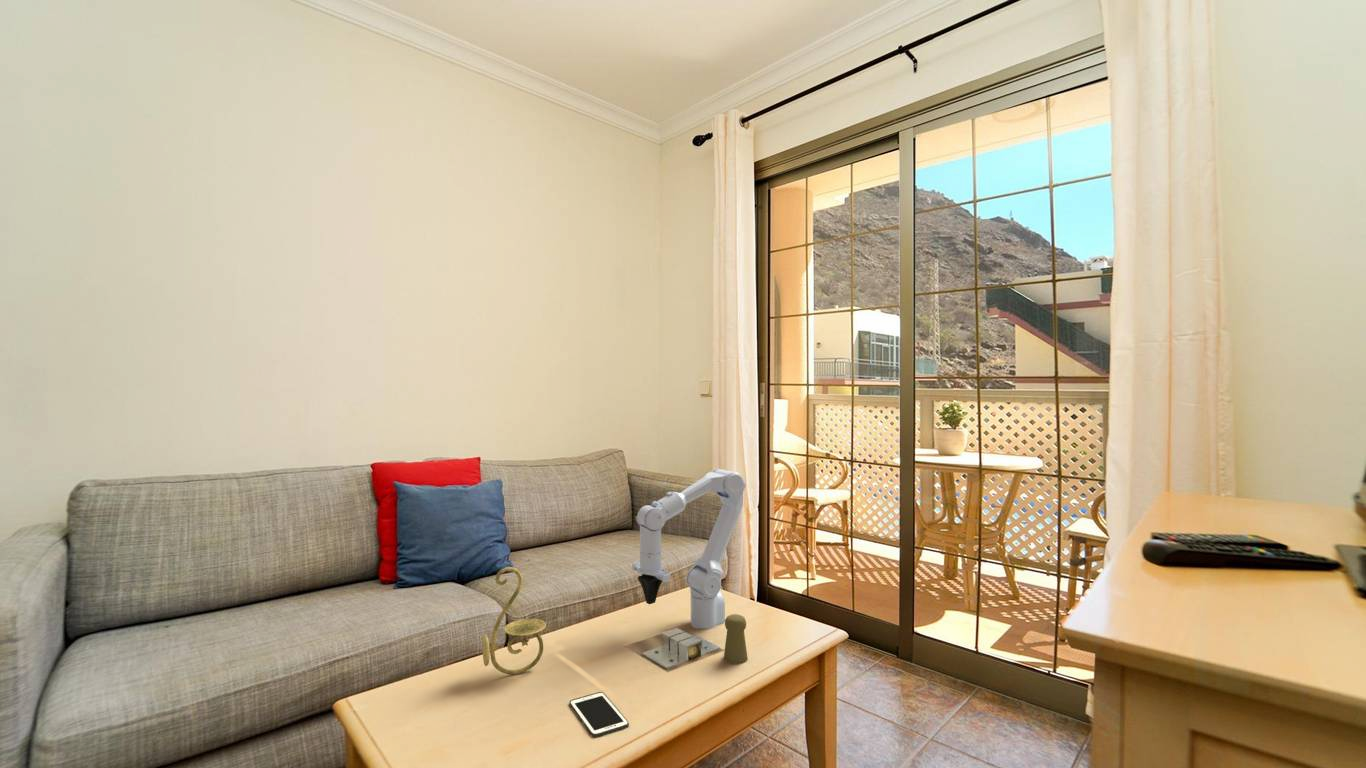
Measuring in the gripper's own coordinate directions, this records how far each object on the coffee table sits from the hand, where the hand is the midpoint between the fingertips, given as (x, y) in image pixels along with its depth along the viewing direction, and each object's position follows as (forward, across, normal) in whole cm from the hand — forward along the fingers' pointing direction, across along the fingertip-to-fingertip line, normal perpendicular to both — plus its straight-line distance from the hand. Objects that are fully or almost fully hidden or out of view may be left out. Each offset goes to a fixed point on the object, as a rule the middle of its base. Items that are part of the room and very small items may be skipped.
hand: (650, 602), depth 156 cm
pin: (+9, +13, 0) cm, 15 cm away
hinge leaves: (+9, +13, 0) cm, 16 cm away
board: (+9, +10, 0) cm, 14 cm away
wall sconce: (+10, -4, -36) cm, 37 cm away
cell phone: (+10, +23, -30) cm, 39 cm away
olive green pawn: (+10, +24, +8) cm, 27 cm away
